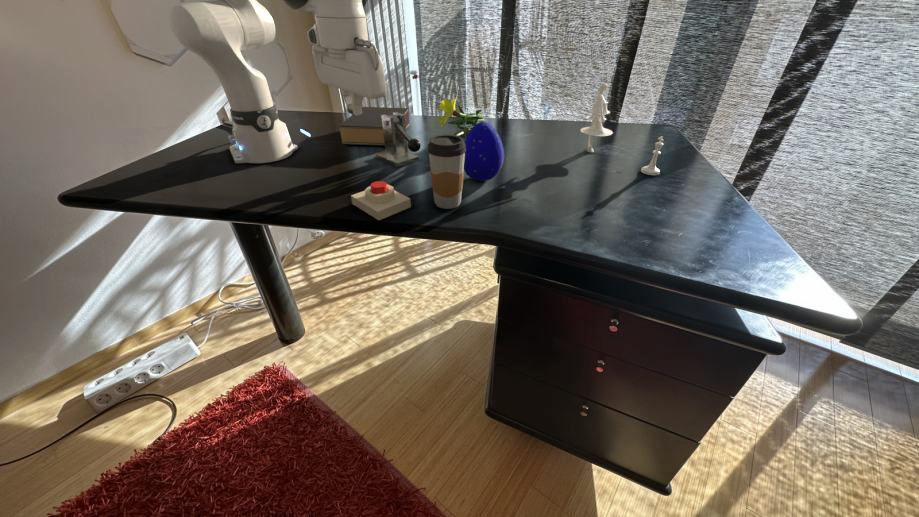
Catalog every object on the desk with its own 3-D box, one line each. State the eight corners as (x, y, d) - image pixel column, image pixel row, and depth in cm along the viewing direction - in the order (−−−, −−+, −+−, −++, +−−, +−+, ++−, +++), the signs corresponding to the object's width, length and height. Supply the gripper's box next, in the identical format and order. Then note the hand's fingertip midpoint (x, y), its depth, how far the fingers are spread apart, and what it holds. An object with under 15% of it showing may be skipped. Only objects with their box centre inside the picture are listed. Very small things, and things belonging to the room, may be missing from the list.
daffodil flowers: (508, 135, 131) (489, 137, 99) (473, 154, 136) (444, 161, 105) (488, 91, 128) (462, 78, 96) (453, 112, 133) (418, 106, 102)
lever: (421, 153, 102) (424, 143, 99) (411, 156, 100) (414, 146, 97) (394, 122, 105) (397, 111, 102) (384, 124, 103) (386, 114, 100)
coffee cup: (464, 195, 89) (465, 133, 80) (466, 211, 82) (467, 146, 73) (430, 195, 89) (427, 134, 80) (429, 211, 82) (426, 146, 73)
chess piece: (648, 176, 99) (660, 139, 93) (636, 169, 103) (647, 134, 97) (663, 174, 100) (676, 138, 94) (651, 167, 104) (663, 132, 98)
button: (368, 191, 82) (367, 184, 81) (381, 186, 84) (380, 179, 83) (377, 196, 80) (376, 189, 79) (390, 191, 82) (389, 184, 81)
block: (352, 203, 85) (349, 188, 82) (383, 192, 90) (381, 177, 88) (378, 220, 78) (376, 204, 76) (411, 207, 84) (409, 191, 81)
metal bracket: (419, 160, 108) (416, 115, 100) (397, 167, 103) (393, 121, 96) (397, 151, 114) (392, 108, 107) (376, 157, 110) (370, 113, 102)
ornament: (506, 176, 98) (510, 120, 89) (493, 189, 91) (497, 129, 83) (469, 169, 102) (470, 114, 93) (454, 181, 95) (454, 123, 87)
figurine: (612, 159, 109) (630, 87, 97) (579, 157, 110) (594, 86, 98) (603, 145, 120) (619, 79, 108) (574, 143, 121) (586, 78, 109)
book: (410, 126, 136) (408, 108, 133) (393, 148, 116) (391, 127, 112) (365, 124, 138) (363, 106, 134) (342, 146, 118) (338, 125, 114)
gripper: (390, 40, 62) (397, 122, 70) (331, 30, 74) (343, 102, 82) (359, 42, 58) (369, 128, 67) (302, 32, 70) (317, 106, 78)
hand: (354, 113), depth 74 cm, fingers closed
